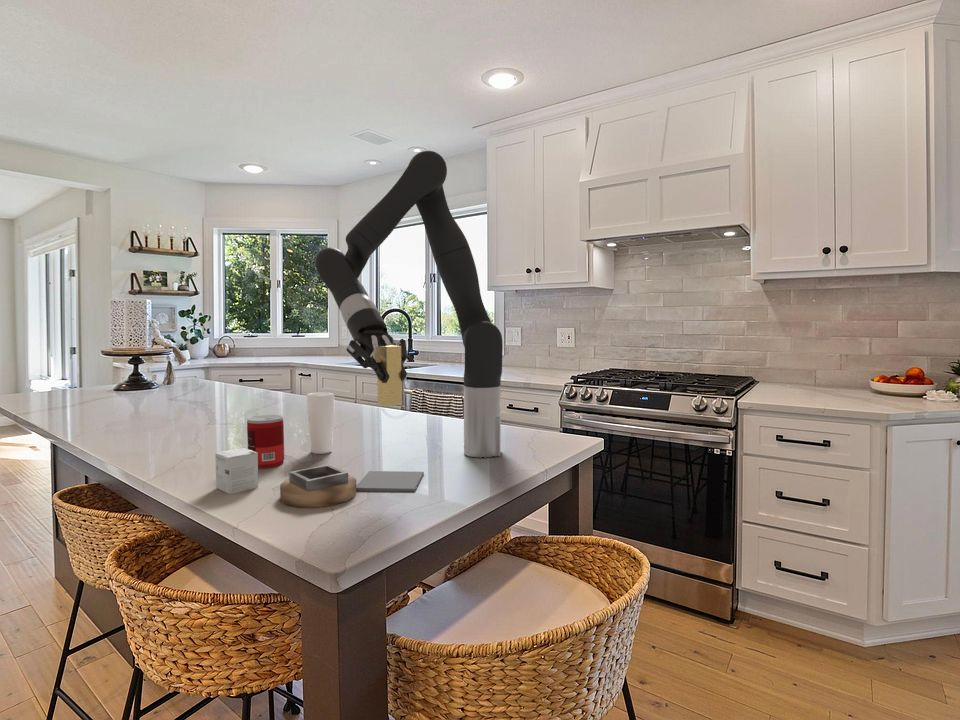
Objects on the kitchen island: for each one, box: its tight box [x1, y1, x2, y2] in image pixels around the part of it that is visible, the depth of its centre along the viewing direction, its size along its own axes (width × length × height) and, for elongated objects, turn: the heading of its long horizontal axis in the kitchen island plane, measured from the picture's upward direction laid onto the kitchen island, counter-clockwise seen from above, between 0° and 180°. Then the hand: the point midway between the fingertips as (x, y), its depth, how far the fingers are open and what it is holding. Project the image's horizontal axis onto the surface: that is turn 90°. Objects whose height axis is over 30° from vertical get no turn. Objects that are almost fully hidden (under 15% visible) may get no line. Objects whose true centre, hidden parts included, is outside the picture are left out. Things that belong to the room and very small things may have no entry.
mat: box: [356, 470, 425, 492], centre depth 113 cm, size 12×12×1 cm
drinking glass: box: [306, 391, 335, 455], centre depth 139 cm, size 7×7×15 cm
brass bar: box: [376, 345, 403, 407], centre depth 112 cm, size 4×4×12 cm
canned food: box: [246, 414, 285, 469], centre depth 127 cm, size 8×8×11 cm
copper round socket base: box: [279, 464, 358, 509], centre depth 105 cm, size 14×14×4 cm
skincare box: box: [215, 447, 259, 495], centre depth 109 cm, size 6×6×7 cm
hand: (394, 379), depth 110 cm, fingers closed on brass bar, 3 cm apart
